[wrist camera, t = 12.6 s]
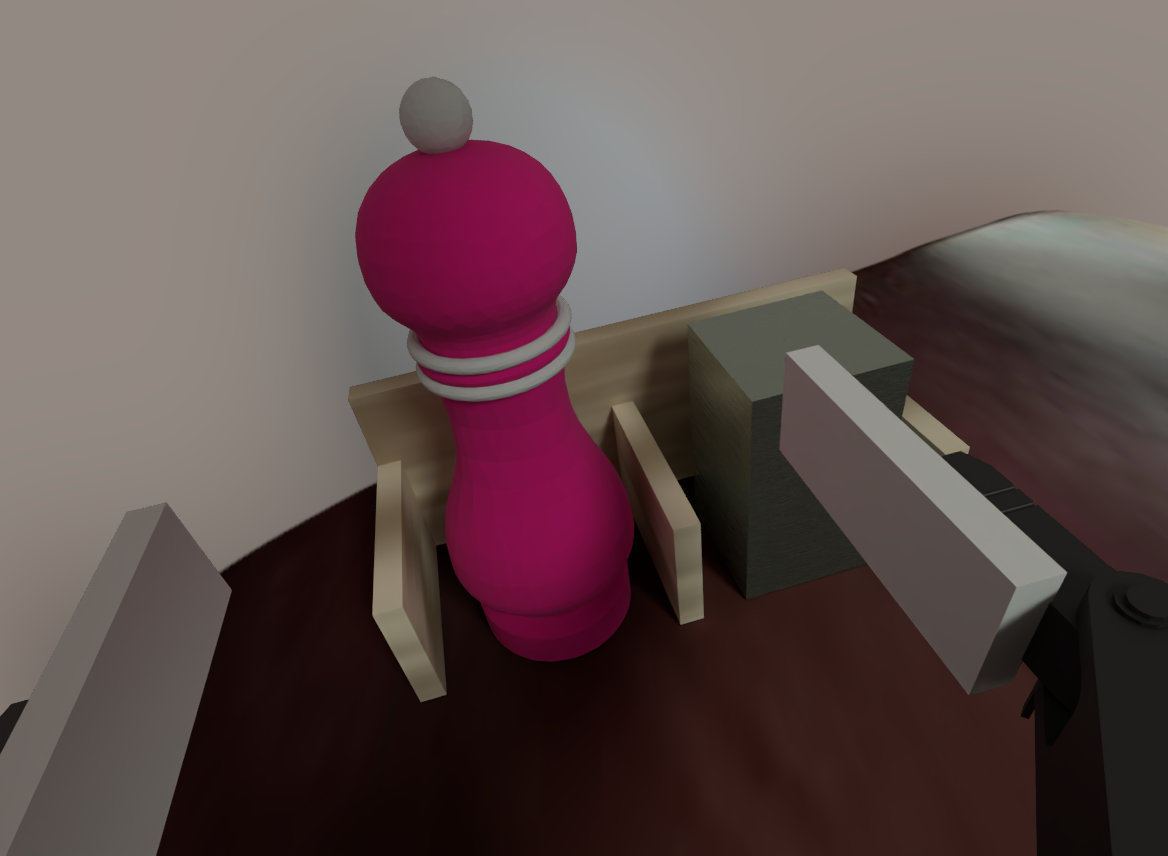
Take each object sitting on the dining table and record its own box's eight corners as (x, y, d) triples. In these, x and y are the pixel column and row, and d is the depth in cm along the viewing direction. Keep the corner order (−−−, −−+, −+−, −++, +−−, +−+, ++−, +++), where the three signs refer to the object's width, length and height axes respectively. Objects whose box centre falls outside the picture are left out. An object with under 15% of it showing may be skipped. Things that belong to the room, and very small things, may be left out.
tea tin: (871, 562, 27) (914, 359, 20) (746, 599, 26) (752, 401, 20) (803, 478, 31) (822, 290, 25) (694, 508, 30) (687, 323, 24)
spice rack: (939, 547, 27) (994, 367, 21) (421, 702, 24) (332, 543, 19) (824, 426, 34) (843, 267, 28) (415, 536, 31) (349, 387, 26)
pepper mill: (648, 670, 24) (570, 82, 12) (462, 680, 25) (212, 136, 13) (638, 529, 30) (579, 35, 18) (488, 541, 30) (332, 74, 18)
